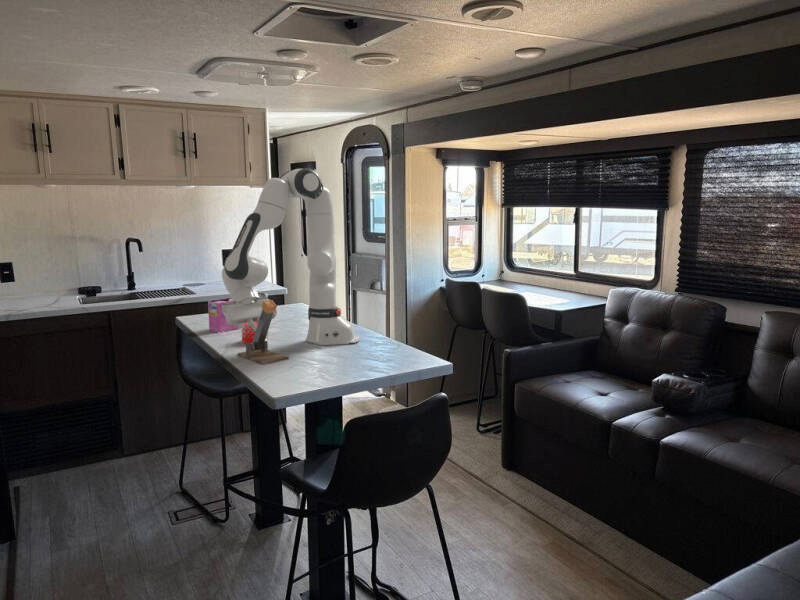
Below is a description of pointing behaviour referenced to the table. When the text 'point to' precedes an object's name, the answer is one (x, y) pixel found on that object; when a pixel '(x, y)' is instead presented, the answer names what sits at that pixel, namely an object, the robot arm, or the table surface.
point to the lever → (263, 324)
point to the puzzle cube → (249, 333)
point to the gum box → (219, 316)
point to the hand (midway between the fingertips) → (258, 329)
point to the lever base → (261, 354)
